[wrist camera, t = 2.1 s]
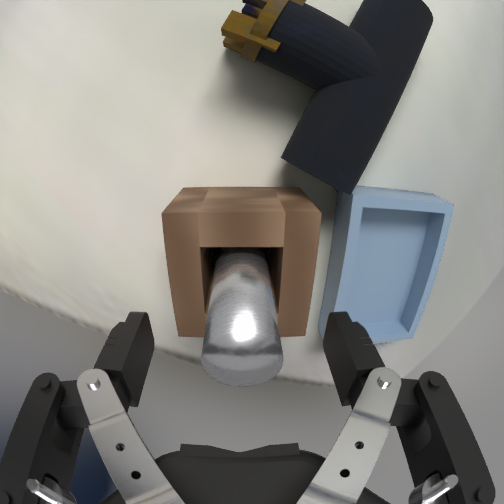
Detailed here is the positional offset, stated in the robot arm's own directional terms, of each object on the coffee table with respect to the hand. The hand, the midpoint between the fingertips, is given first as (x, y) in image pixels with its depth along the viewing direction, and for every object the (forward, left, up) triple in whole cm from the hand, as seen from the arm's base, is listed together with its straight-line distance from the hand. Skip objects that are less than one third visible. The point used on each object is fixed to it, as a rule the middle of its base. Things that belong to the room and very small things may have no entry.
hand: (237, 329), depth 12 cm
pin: (0, 0, -10) cm, 10 cm away
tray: (-12, +2, -10) cm, 16 cm away
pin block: (0, 0, -10) cm, 10 cm away
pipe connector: (-5, -14, -11) cm, 18 cm away
